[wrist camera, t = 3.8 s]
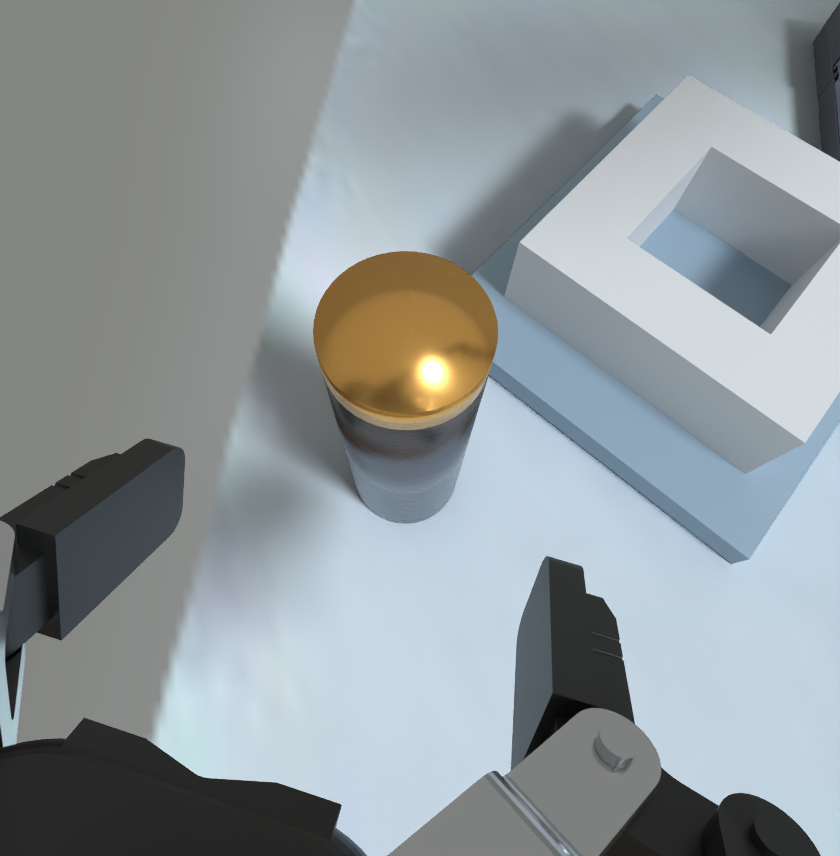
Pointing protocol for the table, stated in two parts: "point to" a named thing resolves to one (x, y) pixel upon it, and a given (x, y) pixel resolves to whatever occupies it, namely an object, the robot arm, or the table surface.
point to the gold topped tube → (405, 375)
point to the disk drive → (829, 83)
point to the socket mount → (684, 311)
